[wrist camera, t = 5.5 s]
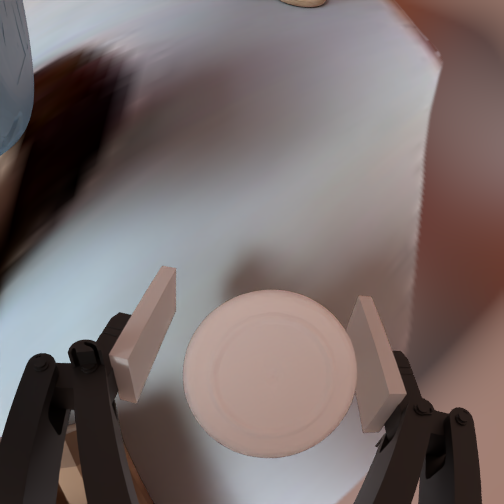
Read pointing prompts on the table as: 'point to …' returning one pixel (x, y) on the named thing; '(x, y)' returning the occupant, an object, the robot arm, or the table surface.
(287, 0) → the stacking toy
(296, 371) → the sprinkles bottle
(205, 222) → the table surface
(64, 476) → the walnut socket block
